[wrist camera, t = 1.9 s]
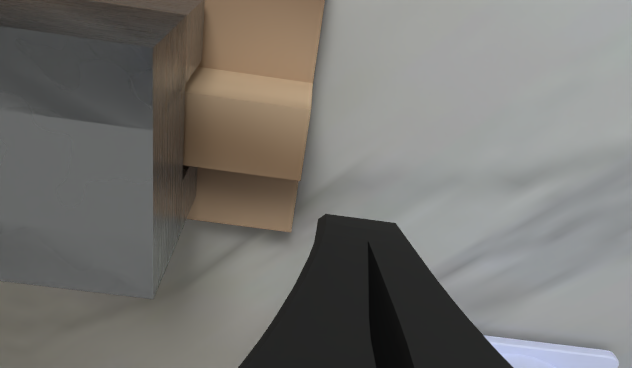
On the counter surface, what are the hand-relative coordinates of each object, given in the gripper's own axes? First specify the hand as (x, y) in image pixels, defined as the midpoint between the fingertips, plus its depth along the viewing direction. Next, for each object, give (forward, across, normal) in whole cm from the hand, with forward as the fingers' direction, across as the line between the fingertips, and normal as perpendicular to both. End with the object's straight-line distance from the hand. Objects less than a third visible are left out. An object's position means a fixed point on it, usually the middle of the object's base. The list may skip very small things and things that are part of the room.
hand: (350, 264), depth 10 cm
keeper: (+7, +6, 0) cm, 9 cm away
